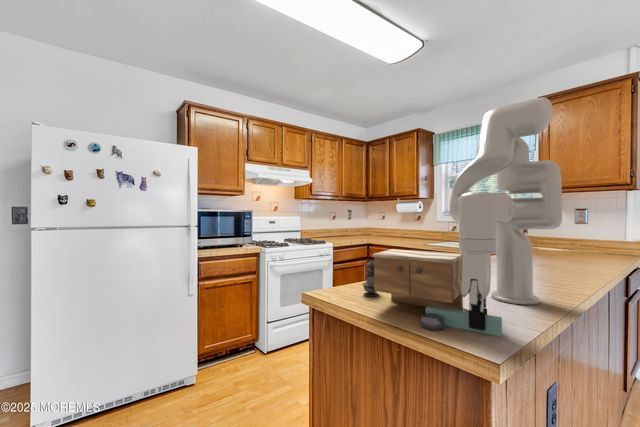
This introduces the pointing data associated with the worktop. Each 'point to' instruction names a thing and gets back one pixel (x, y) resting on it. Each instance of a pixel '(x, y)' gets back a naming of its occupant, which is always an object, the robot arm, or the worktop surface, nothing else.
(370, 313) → the worktop surface
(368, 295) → the grey statuette
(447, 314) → the teal blade
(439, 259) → the cabinet
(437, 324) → the steel token
